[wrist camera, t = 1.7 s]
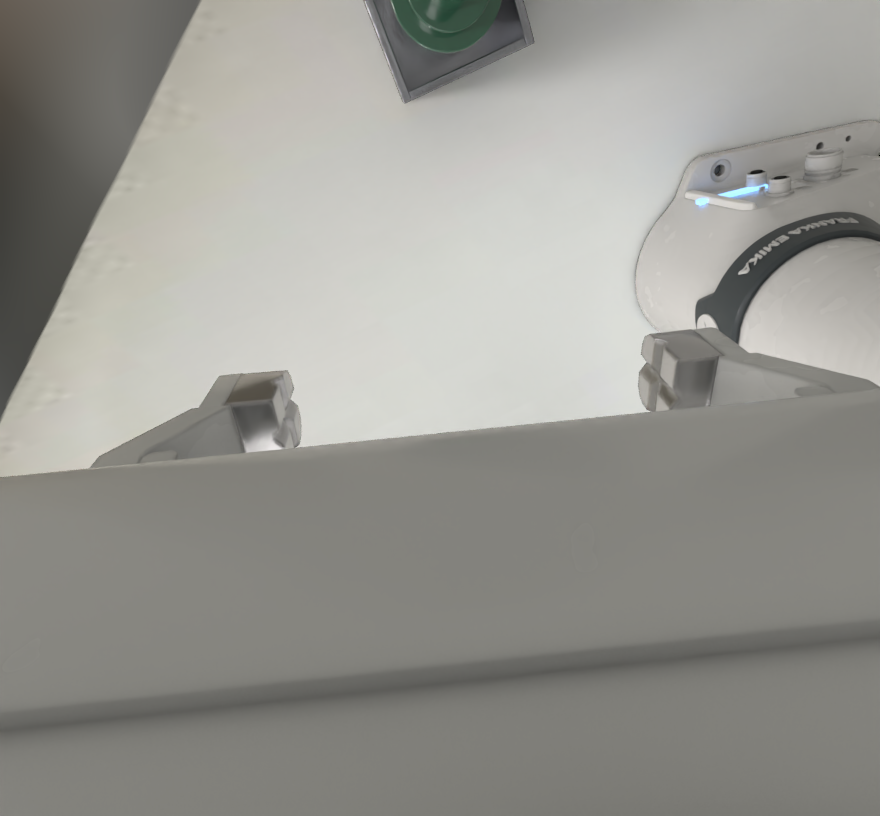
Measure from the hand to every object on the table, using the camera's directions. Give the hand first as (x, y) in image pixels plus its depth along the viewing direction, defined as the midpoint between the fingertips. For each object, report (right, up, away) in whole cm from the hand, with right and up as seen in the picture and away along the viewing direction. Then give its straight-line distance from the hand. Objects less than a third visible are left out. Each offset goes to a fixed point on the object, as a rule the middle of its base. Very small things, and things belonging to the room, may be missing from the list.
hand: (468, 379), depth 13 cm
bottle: (-1, +27, +26) cm, 37 cm away
